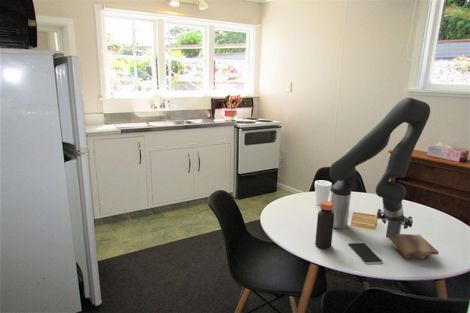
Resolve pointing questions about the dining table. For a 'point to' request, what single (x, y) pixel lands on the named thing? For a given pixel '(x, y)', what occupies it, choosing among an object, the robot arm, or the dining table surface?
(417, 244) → the stand
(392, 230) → the block
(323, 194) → the foam cup
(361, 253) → the smartphone
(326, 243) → the bottle
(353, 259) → the dining table surface
